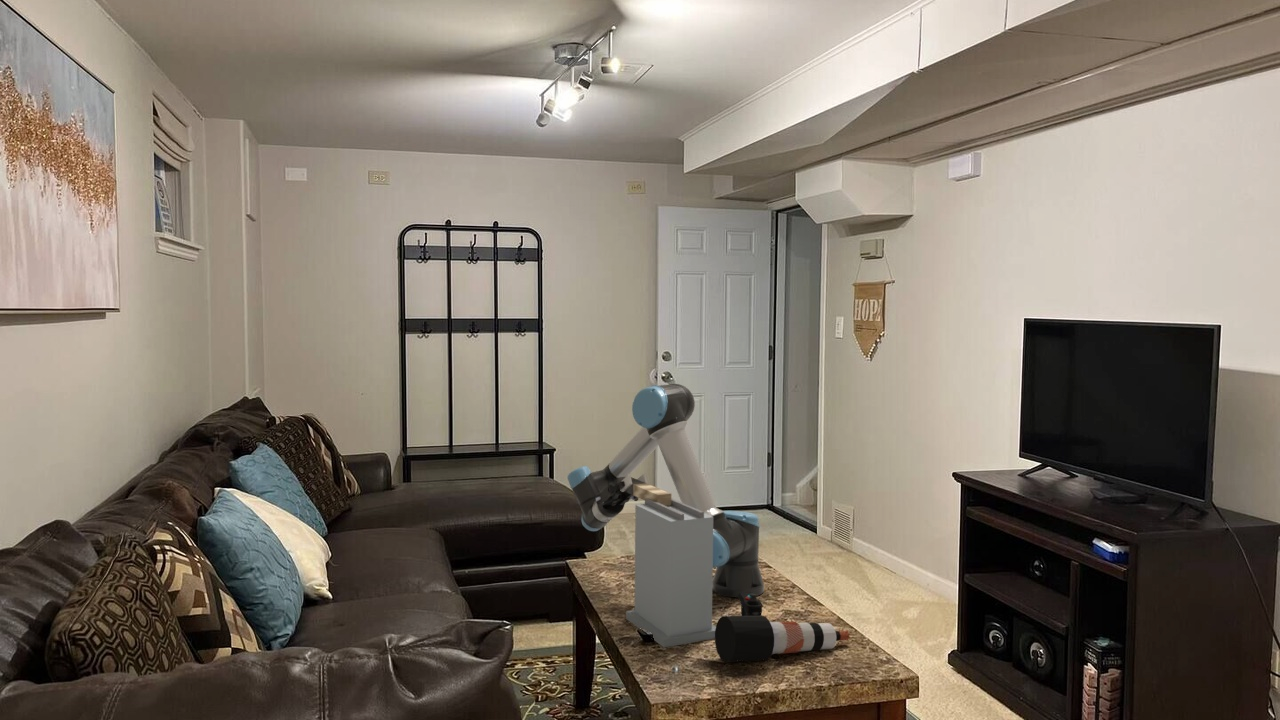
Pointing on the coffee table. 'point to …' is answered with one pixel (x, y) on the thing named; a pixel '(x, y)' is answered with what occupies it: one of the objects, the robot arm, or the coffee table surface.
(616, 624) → the coffee table surface
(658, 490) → the bar
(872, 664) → the coffee table surface
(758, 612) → the controller
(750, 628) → the black white tapered cylinder
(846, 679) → the coffee table surface
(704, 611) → the post
